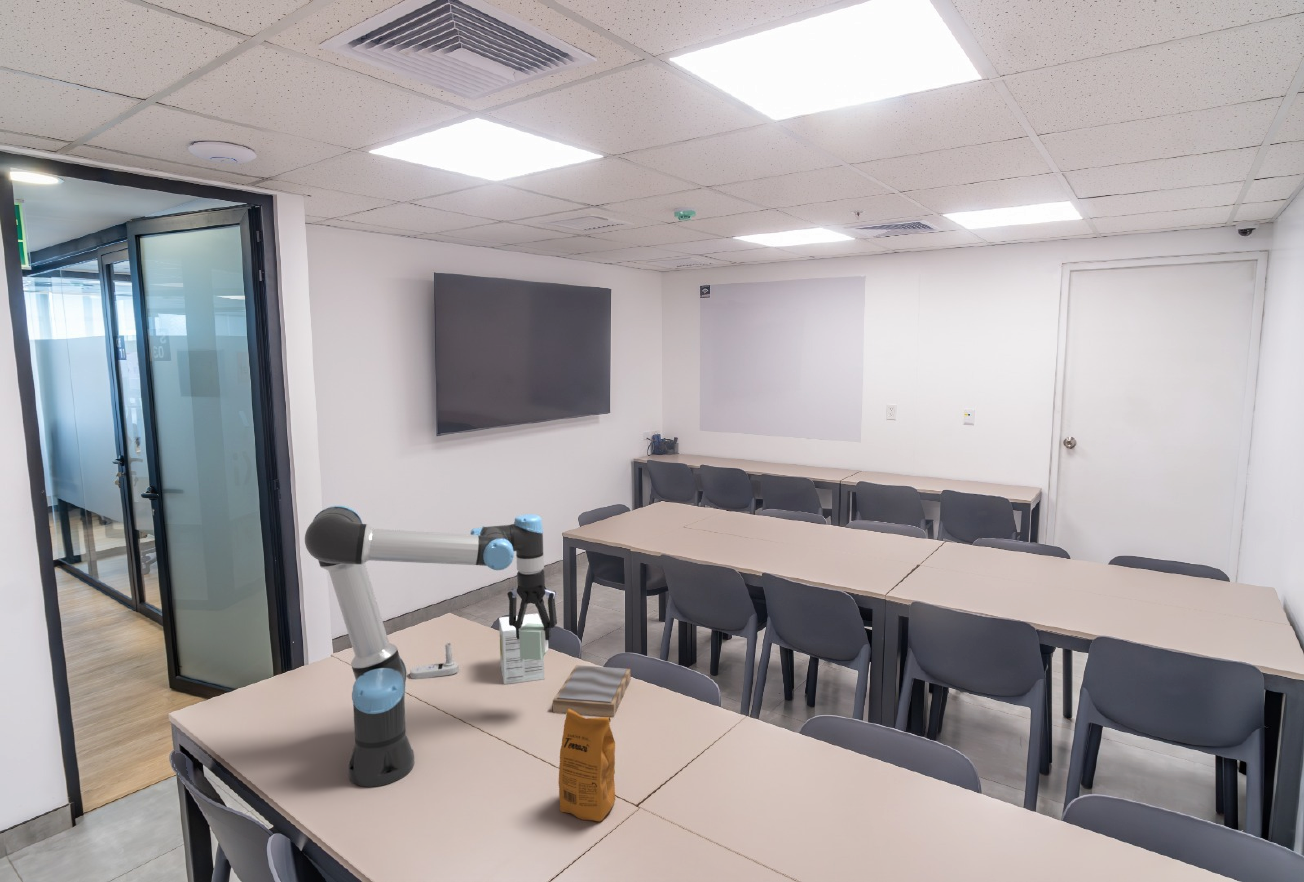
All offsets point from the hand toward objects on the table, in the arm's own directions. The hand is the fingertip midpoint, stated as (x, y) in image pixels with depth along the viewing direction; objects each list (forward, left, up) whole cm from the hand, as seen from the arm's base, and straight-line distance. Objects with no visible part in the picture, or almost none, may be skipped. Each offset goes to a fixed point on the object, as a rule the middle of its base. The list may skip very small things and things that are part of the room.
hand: (534, 649), depth 191 cm
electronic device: (+21, +42, -20) cm, 51 cm away
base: (+15, -13, -20) cm, 28 cm away
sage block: (0, 0, -1) cm, 1 cm away
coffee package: (-37, -25, -20) cm, 49 cm away
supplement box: (+26, +14, -20) cm, 36 cm away
